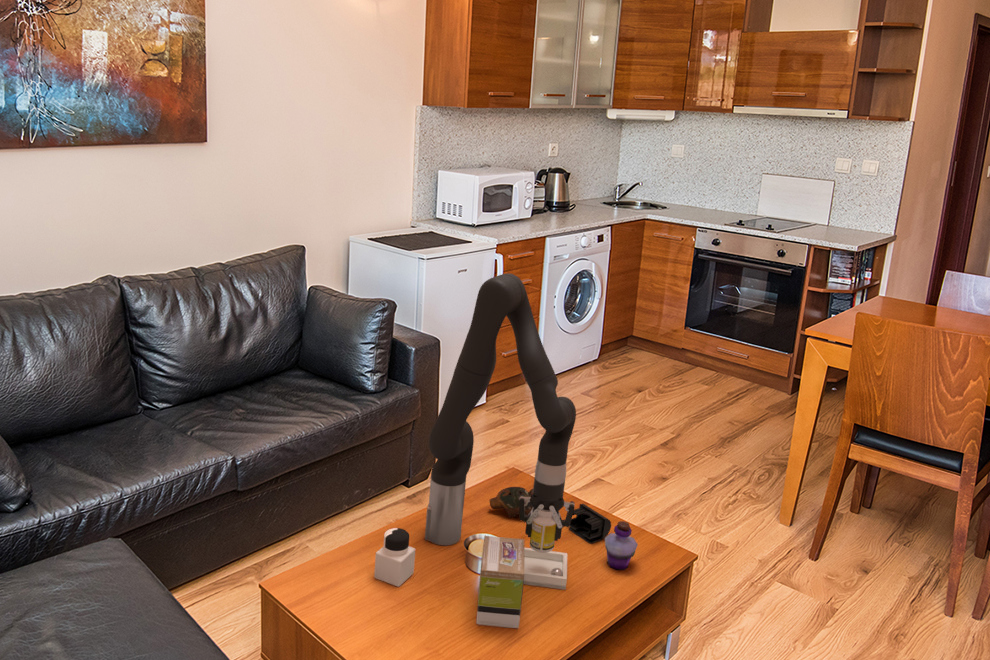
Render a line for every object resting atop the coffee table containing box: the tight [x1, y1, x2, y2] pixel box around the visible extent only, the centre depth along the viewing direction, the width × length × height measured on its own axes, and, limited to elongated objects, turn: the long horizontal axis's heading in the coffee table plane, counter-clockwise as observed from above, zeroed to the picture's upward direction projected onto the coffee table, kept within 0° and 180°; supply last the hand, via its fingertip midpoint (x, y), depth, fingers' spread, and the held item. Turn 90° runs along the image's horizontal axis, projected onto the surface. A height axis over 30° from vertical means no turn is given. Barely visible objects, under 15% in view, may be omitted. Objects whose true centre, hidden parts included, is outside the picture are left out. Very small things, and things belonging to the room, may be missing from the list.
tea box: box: [475, 535, 525, 629], centre depth 194 cm, size 15×10×15 cm
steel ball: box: [551, 568, 563, 576], centre depth 208 cm, size 3×3×3 cm
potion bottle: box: [604, 520, 639, 571], centre depth 218 cm, size 9×9×12 cm
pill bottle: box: [529, 509, 557, 553], centre depth 208 cm, size 6×6×11 cm
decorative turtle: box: [489, 486, 533, 519], centre depth 239 cm, size 10×15×8 cm, turn 102°
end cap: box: [568, 503, 612, 545], centre depth 233 cm, size 10×7×7 cm
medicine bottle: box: [374, 527, 416, 587], centre depth 203 cm, size 7×7×12 cm
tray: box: [523, 547, 568, 591], centre depth 212 cm, size 14×12×3 cm
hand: (542, 537), depth 209 cm, fingers closed on pill bottle, 6 cm apart
